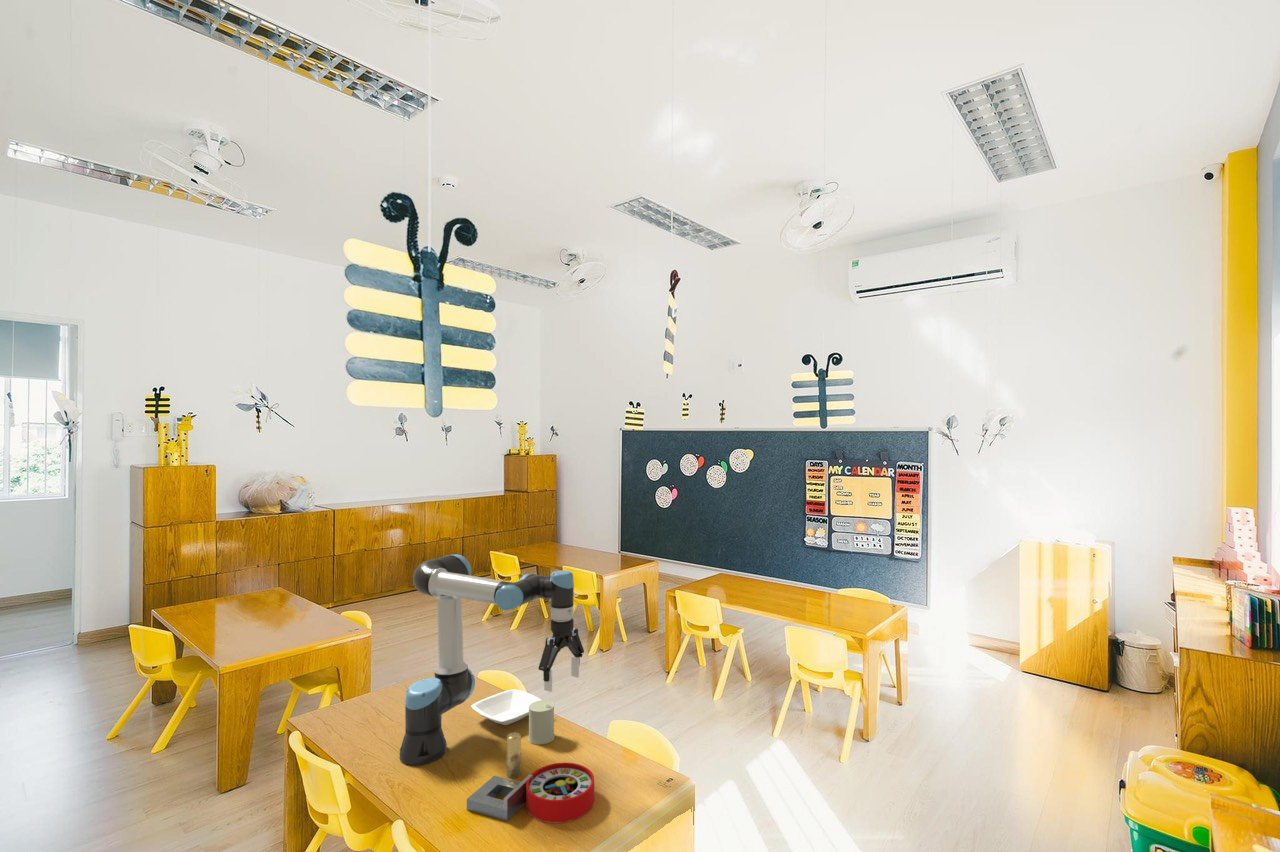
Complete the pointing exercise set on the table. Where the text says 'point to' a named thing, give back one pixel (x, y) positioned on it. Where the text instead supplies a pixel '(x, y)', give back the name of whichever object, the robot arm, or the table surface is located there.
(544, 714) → the can
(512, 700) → the bowl
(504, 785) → the jig
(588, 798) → the toy clock
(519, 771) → the bushing
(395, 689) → the table surface
